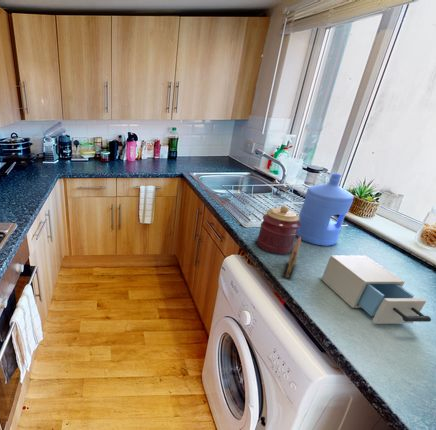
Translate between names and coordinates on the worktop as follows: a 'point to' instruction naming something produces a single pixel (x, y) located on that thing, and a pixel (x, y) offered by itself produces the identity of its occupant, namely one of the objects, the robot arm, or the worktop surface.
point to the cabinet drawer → (391, 304)
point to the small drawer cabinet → (355, 276)
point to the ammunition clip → (292, 259)
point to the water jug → (324, 212)
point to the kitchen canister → (278, 230)
